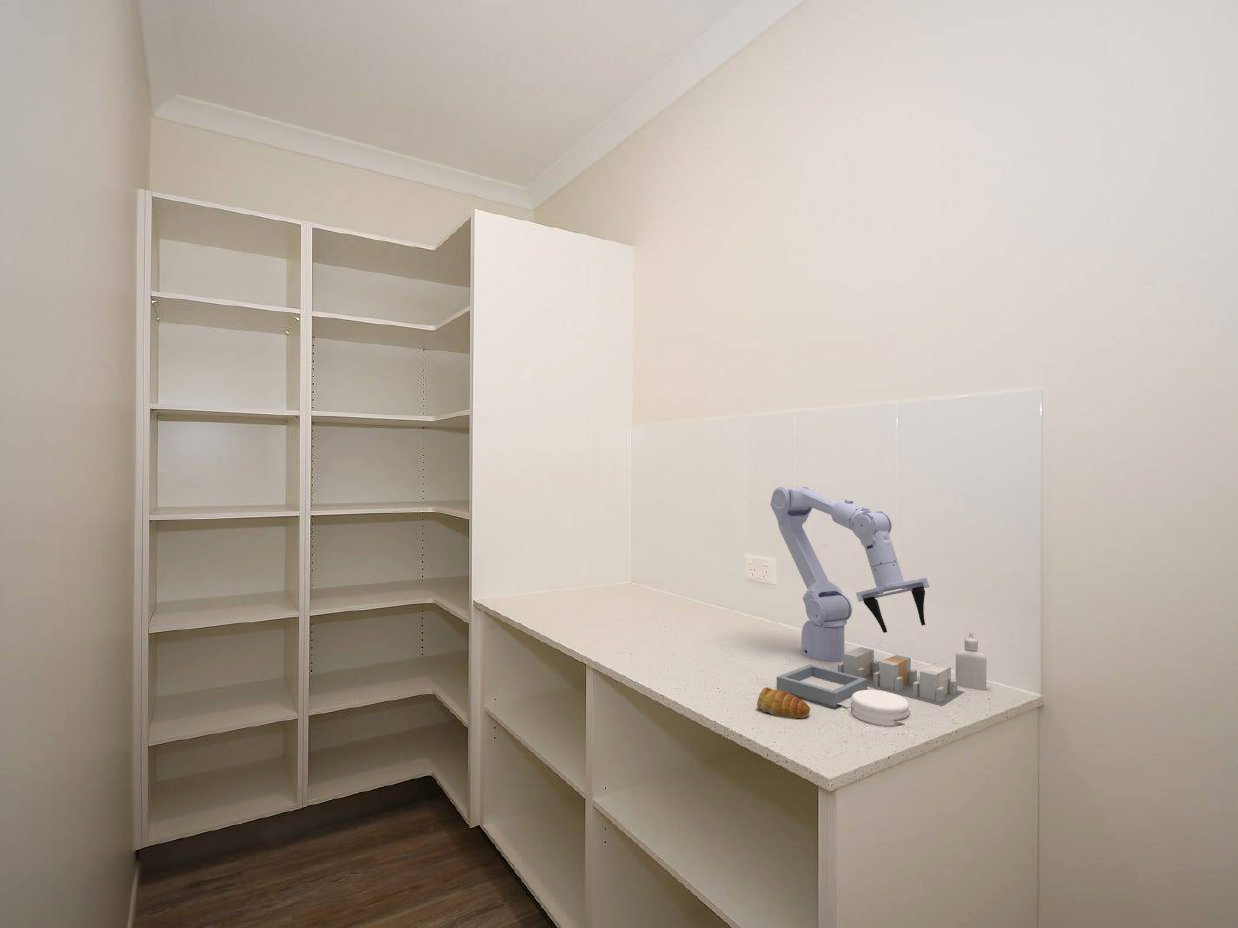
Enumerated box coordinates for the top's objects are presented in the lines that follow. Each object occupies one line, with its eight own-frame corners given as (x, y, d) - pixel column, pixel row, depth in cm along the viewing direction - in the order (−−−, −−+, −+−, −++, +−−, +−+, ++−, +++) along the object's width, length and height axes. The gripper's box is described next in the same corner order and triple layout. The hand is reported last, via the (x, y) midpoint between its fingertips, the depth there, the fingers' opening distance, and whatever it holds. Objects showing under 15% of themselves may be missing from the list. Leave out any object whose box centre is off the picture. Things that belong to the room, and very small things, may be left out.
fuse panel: (830, 681, 137) (830, 664, 137) (856, 669, 145) (856, 654, 145) (942, 711, 120) (942, 692, 120) (964, 696, 129) (964, 679, 129)
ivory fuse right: (919, 696, 125) (919, 671, 125) (935, 687, 131) (935, 663, 131) (935, 700, 123) (935, 674, 123) (950, 691, 129) (950, 666, 129)
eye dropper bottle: (964, 684, 136) (964, 628, 136) (990, 693, 131) (990, 634, 131) (951, 688, 134) (952, 630, 134) (977, 696, 129) (977, 637, 129)
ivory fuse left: (843, 676, 137) (843, 653, 137) (860, 669, 143) (860, 646, 143) (856, 680, 135) (856, 656, 135) (873, 672, 140) (873, 649, 140)
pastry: (815, 713, 119) (815, 692, 119) (802, 724, 114) (802, 703, 114) (768, 701, 125) (768, 682, 125) (753, 712, 119) (753, 691, 119)
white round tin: (876, 703, 125) (876, 685, 125) (921, 721, 116) (921, 702, 116) (839, 712, 120) (839, 693, 120) (884, 731, 111) (884, 711, 111)
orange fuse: (879, 686, 131) (879, 661, 131) (896, 677, 137) (896, 654, 137) (894, 689, 129) (894, 665, 129) (910, 681, 134) (910, 657, 135)
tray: (776, 691, 130) (776, 676, 130) (809, 677, 139) (809, 664, 139) (835, 709, 121) (835, 693, 121) (867, 693, 130) (867, 678, 130)
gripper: (847, 571, 137) (866, 635, 132) (918, 555, 132) (940, 621, 127) (852, 574, 143) (870, 635, 139) (920, 558, 138) (941, 622, 133)
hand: (904, 628), depth 133 cm, fingers open, 7 cm apart
